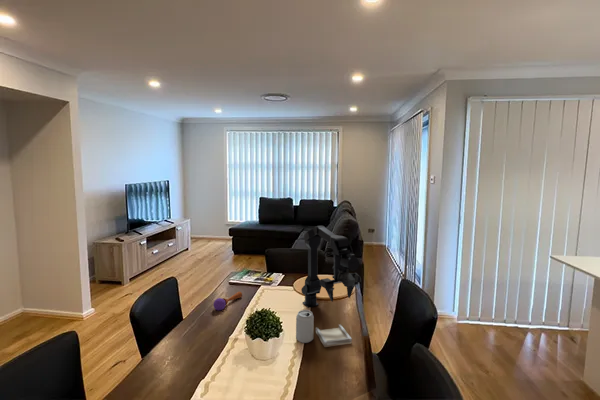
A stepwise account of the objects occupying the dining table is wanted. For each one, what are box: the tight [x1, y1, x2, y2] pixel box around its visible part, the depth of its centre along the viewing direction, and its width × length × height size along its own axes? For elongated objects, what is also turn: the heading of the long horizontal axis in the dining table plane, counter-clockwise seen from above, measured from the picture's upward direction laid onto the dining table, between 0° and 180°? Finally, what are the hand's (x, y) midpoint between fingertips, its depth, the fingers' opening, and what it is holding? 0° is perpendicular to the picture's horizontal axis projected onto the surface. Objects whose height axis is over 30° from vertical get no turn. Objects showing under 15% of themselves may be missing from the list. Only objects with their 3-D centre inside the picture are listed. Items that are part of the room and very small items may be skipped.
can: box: [295, 309, 315, 344], centre depth 138 cm, size 8×8×12 cm
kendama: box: [213, 291, 243, 312], centre depth 170 cm, size 6×6×20 cm
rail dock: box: [315, 323, 353, 348], centre depth 140 cm, size 12×12×2 cm
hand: (340, 299), depth 145 cm, fingers open, 9 cm apart
